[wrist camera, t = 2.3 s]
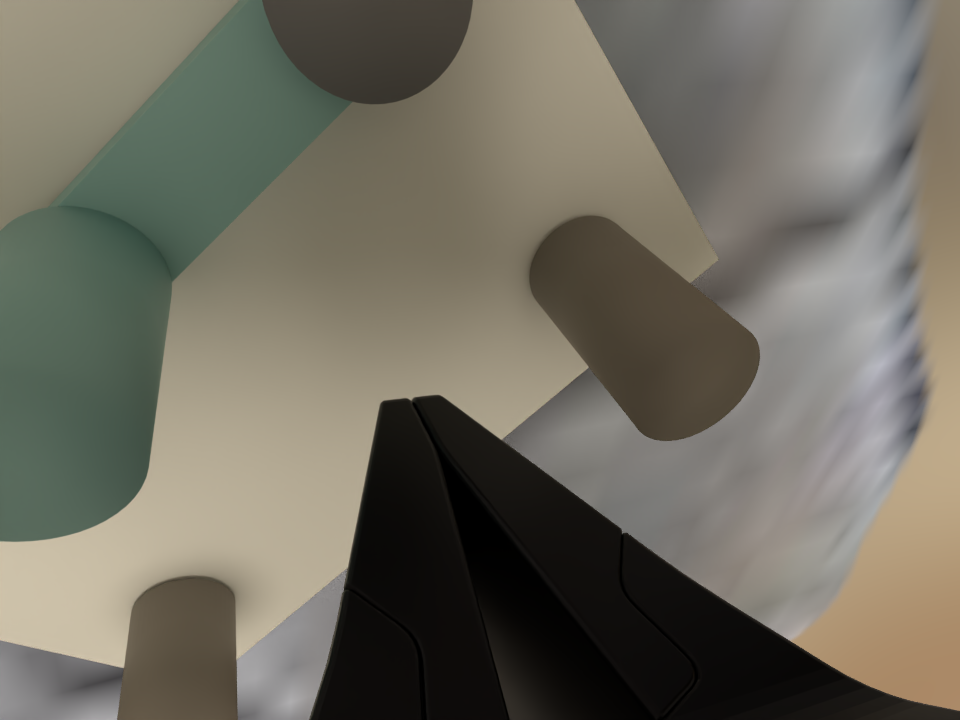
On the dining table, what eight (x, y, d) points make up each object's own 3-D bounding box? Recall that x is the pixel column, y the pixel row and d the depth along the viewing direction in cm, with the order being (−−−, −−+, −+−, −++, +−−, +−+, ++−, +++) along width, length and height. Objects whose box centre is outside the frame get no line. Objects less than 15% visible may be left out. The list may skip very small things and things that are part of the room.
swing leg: (354, -193, 8) (471, -281, 4) (480, -4, 10) (642, 52, 6) (-45, 249, 10) (-223, 478, 6) (126, 346, 11) (77, 572, 7)
